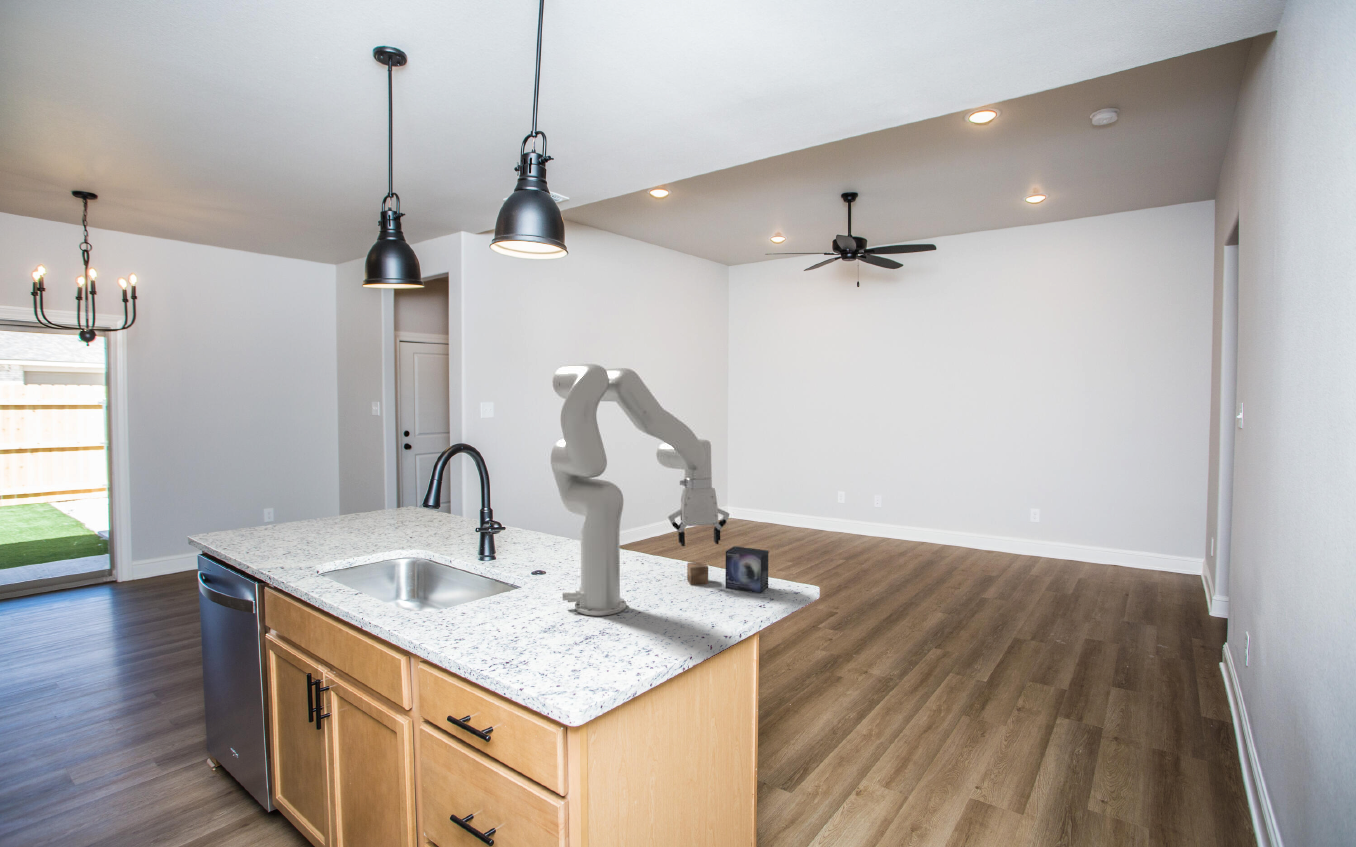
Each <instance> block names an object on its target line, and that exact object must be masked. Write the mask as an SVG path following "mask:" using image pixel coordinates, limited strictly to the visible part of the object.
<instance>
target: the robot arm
mask: <svg viewBox="0 0 1356 847" xmlns="http://www.w3.org/2000/svg"><path fill="white" fill-rule="evenodd" d="M552 387H553V390H554V392H555V393H556V395H558V396H559V397H561V398H562V399H565V400H564V402H563V405H562V407H561V411H560V426H561V431H562V435H563V437H562V438H561V439H559V440H557V441H556V442H555V443H554V445H553V447H552V449H551V453H550V465H551V469H552V473H553V477H554V480H555V483H556V486H557V490H558V493H559V496H560V500H561V501H562V503H563V506H564V507H565V508H566V510H568V511H569V512H571V513H572V514H575V515H578V516H583V517H585V519H584V523H583V526H582V529H581V534H580V587H579V590H575V591H574V592H570V591H569V592H567V591H566V592H562V601H567V603H574V610H575V611H576V612H578V613H580V614H582V615H585V616H595V617H597V616H600V617H601V616H610V615H615V614H618V613H621V612H623V611H624V610H625V609H626V608H627V601H626V600H625V599H624V598H622V597H621V585H620V582H621V578H620V577H621V573H620V572H621V570H620V569H621V568H620V567H621V565H620V564H621V562H620V561H621V560H620V559H621V557H620V556H621V555H620V552H621V550H620V549H621V548H620V547H621V546H620V545H621V544H620V540H621V539H620V538H621V537H620V536H621V535H620V533H621V521H622V520H621V519H622V514H623V510H624V501H625V500H624V495H623V493H622V490H621V489H620V488H619V486H617V484H615V483H613V482H611V481H608V480H604V479H599V478H598V477H600V476H601V475H603V474H604V472H605V471H606V469H607V466H608V460H607V454H606V449H605V447H604V443H603V439H602V436H601V433H600V429H599V423H598V420H597V411H598V407H599V404H600V402H615V403H616V404H617V405H618V406H619V407H620V409H621V410H622V411H623V413H624V414H625V415H626V416H627V417H628V419H629V420H630V421H631V423H632V424H633V425H634V426H635V428H636V429H637V430H639V431H641V432H643V433H645V434H646V435H648V436H651V437H653V438H656V439H658V440H660V441H663V443H661V444H660V445H659V446H658V448H657V449H656V453H655V454H656V455H655V456H656V459H657V462H658V463H659V464H660V465H661V466H663V467H664V468H668V469H675V470H684V477H683V479H681V480H679V486H683V487H684V488H682V492H681V498H680V499H681V500H680V509H678V510H677V511H675V512H673V513H672V514H669V515H668V517H667V518H668V520H669V522H670V524H671V526H672V527H673V528H674V529H676V530H677V531H678V532H677V533H678V535H677V536H678V543H679V544H680V546H681V547H686V542H685V541H686V537H685V536H686V534H685V532H684V531H685V529H686V528H687V527H692V526H710V525H712V526H714V527H713V542H714V543H715V545H719V541H721V530H722V528H724V526H725V525H726V524H727V521H728V519H729V517H730V513H729V512H727V511H725V510H724V509H721V508H719V507H718V500H717V494H716V488H714V487H713V486H712V485H713V483H712V482H713V479H712V477H713V476H712V474H713V473H712V445H711V441H709V440H707V439H702V438H698V437H697V435H696V434H695V433H694V432H693V430H692V429H691V428H690V426H688V425H686V424H685V423H684V422H683V421H681V420H680V419H678V417H676V416H674V414H671V413H670V412H669V411H668V410H666V409H665V408H663V406H661V403H659V402H658V401H657V399H656V398H655V396H654V395H653V394H652V393H653V392H651V391H650V389H649V388H648V386H647V385H646V384H645V383H644V381H643V380H642V378H641V377H640V376H639V374H638V373H636V372H635V371H634V370H632V369H630V368H625V367H623V368H622V367H617V368H604V366H601V365H599V364H595V363H594V364H593V363H585V364H584V363H583V364H569V365H564V366H562V367H560V368H558V369H557V370H556V371H555V373H554V375H553V377H552ZM719 515H721V516H722V517H721V519H720V520H719ZM678 517H680V521H681V522H680V523H679V524H678V523H677V522H676V518H678Z"/></svg>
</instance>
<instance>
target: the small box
mask: <svg viewBox="0 0 1356 847" xmlns="http://www.w3.org/2000/svg"><path fill="white" fill-rule="evenodd" d="M769 553H770V551H769V550H766V549H758V548H752V547H744V546H743V547H742V546H736V545H735V546H732V547H731V548H729V549H727V550H726V551H725V581H724V582H725V584H724V585H725V589H728V590H729V589H730V590H736V591H743V592H746V593H747V592H748V593H753V594H754V593H755V594H760V595H761V594H763V593H764V592H765V591H766V590H768V589H769V555H770V554H769Z"/></svg>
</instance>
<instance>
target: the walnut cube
mask: <svg viewBox="0 0 1356 847" xmlns="http://www.w3.org/2000/svg"><path fill="white" fill-rule="evenodd" d="M686 566H687V567H686V568H687V569H686V570H687V571H686V572H687V573H686V574H687V575H686V576H687V577H686V578H687V579H686V580H687V582H688V583H689V585H690V586H699V585H700V586H701V585H703V586H704V585H709V566H708V564H707V563H706V562H704V561H703V562H701V561H700V562H699V561H698V562H687V565H686Z"/></svg>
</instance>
